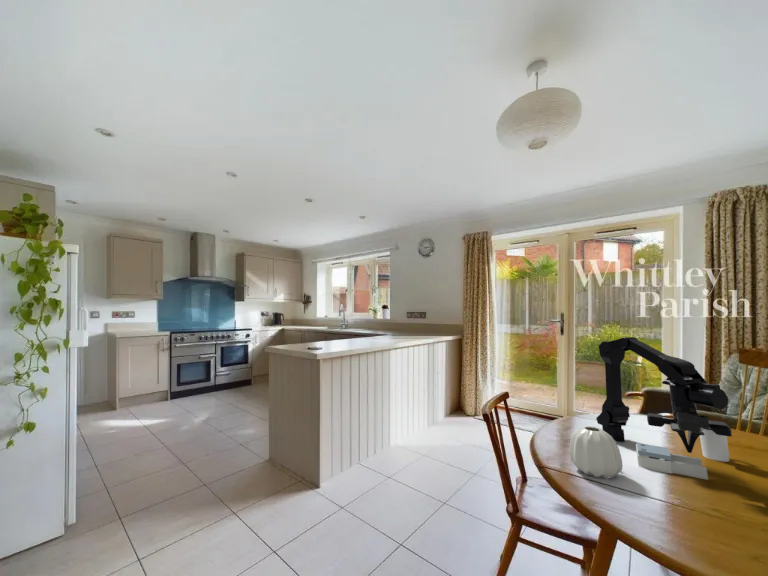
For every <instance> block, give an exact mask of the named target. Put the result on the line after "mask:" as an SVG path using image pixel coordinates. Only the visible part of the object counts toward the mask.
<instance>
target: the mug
mask: <svg viewBox="0 0 768 576" xmlns="http://www.w3.org/2000/svg"><path fill="white" fill-rule="evenodd" d="M703 433H704V435H700V436H699V438H700V439H699V440H700V445H701V452H702V456H703V457H705V458H706V459H709V460H712V461H716V462H723V463H724V462H725V463H727V462H730V451H729V444H728V436H723V435H717V434H716V433H714V432H713V431H712V430H706V429H704V430H703Z"/></svg>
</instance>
